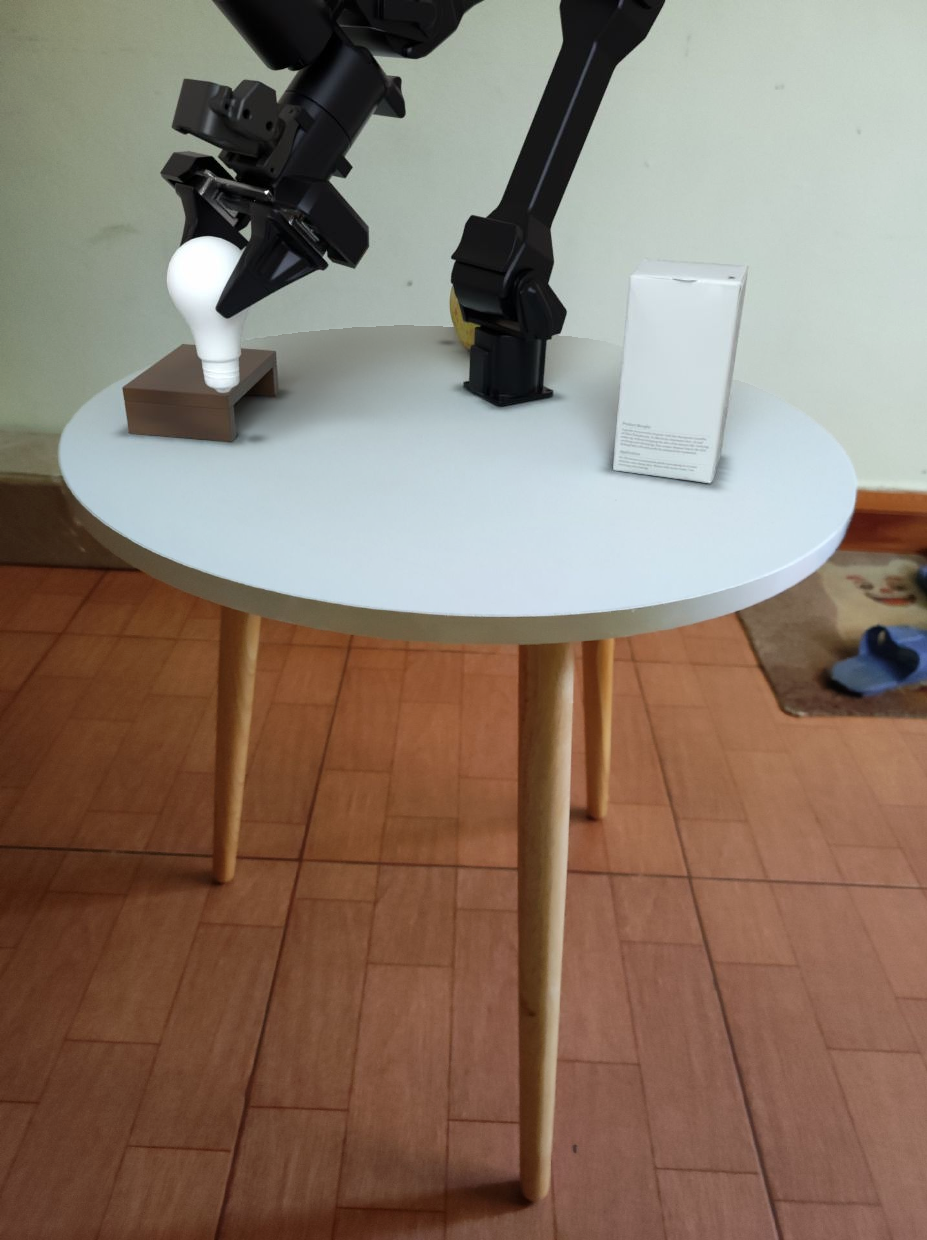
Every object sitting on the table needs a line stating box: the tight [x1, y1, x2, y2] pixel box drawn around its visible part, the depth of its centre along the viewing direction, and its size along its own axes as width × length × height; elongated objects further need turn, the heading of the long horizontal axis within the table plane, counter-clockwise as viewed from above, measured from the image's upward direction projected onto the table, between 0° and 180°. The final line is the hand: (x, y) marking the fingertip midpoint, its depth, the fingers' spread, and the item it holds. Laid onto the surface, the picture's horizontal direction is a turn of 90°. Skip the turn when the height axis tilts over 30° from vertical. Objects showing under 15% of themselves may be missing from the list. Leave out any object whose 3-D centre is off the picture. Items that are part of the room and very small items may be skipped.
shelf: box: [122, 343, 280, 443], centre depth 88 cm, size 9×13×4 cm
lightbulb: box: [166, 236, 252, 393], centre depth 71 cm, size 6×6×11 cm
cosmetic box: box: [612, 257, 749, 484], centre depth 77 cm, size 8×7×16 cm
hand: (196, 304), depth 70 cm, fingers closed on lightbulb, 6 cm apart
